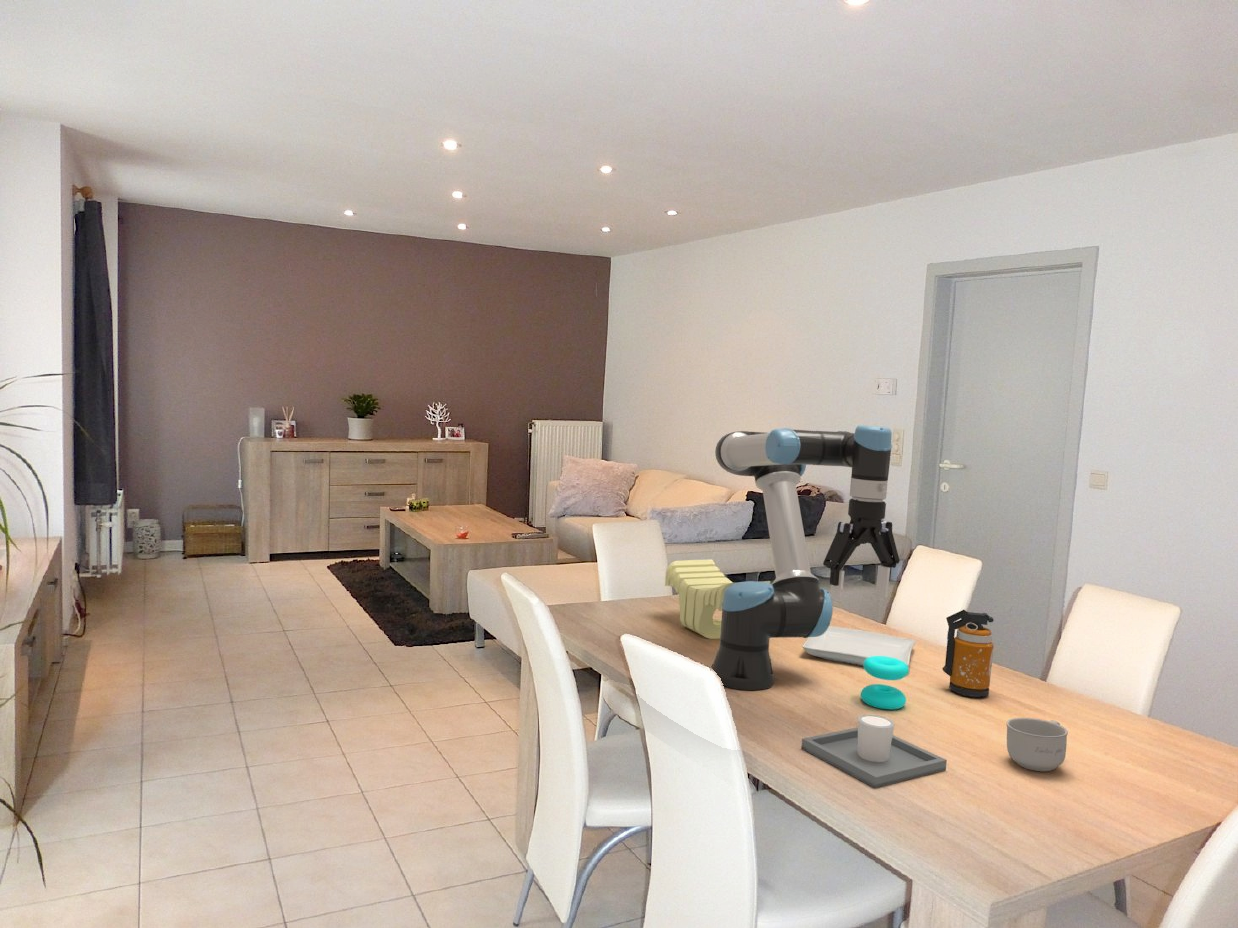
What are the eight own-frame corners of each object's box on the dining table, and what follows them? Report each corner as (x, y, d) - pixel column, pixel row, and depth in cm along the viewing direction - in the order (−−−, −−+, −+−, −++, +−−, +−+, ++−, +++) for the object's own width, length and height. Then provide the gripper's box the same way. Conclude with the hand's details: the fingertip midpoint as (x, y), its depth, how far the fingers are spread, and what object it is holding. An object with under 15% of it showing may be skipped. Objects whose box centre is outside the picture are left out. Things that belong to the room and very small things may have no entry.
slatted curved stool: (662, 619, 269) (666, 560, 267) (708, 616, 276) (712, 559, 274) (716, 648, 242) (721, 583, 241) (765, 644, 249) (770, 580, 248)
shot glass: (892, 752, 176) (895, 718, 175) (890, 766, 169) (893, 730, 168) (856, 746, 178) (859, 711, 177) (853, 759, 171) (856, 723, 171)
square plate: (800, 659, 238) (801, 645, 238) (817, 635, 263) (818, 622, 263) (907, 678, 228) (908, 663, 228) (914, 651, 253) (916, 637, 253)
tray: (801, 748, 176) (802, 738, 176) (869, 734, 186) (870, 724, 186) (874, 788, 160) (876, 777, 160) (945, 770, 170) (946, 760, 170)
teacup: (1038, 780, 168) (1043, 739, 168) (990, 757, 178) (994, 718, 177) (1086, 770, 175) (1091, 730, 174) (1038, 748, 184) (1042, 710, 184)
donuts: (880, 668, 199) (855, 655, 208) (876, 712, 200) (851, 697, 209) (918, 666, 202) (892, 653, 212) (914, 710, 203) (888, 695, 212)
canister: (991, 701, 213) (1000, 618, 211) (942, 695, 215) (950, 613, 213) (984, 689, 221) (992, 609, 220) (937, 683, 224) (944, 604, 222)
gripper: (837, 502, 180) (828, 606, 182) (922, 501, 193) (913, 598, 195) (811, 497, 186) (803, 598, 188) (894, 496, 199) (886, 590, 201)
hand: (859, 598), depth 191 cm, fingers open, 13 cm apart
